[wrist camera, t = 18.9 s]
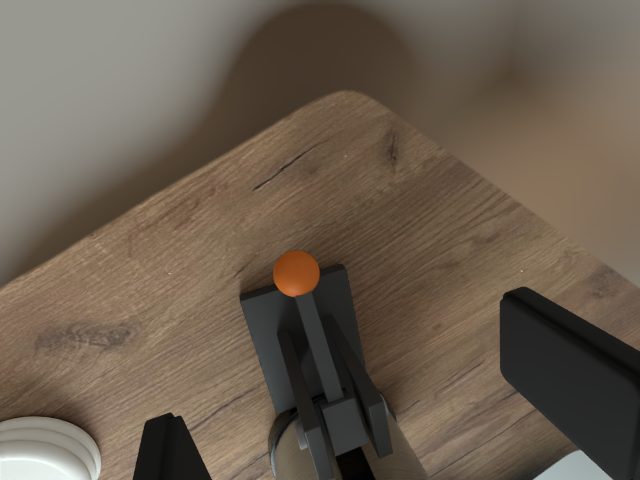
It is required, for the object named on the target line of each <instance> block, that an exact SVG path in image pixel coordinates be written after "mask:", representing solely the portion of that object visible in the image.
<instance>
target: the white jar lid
mask: <svg viewBox="0 0 640 480" xmlns="http://www.w3.org/2000/svg"><path fill="white" fill-rule="evenodd" d="M100 469H101V456H100V452H99V449H98V447H97V445H96V443H95V442H94V440H93V439H92V438H91V437H90V436H89V434H87V433H86V432H85V431H84V430H82V429H81V428H79V427H77V426H75V425H73V424H71V423H69V422H66V421H63V420H60V419H55V418H50V417H20V418H14V419H10V420H6V421H2V422H0V480H98V477H99V474H100Z"/></svg>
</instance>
